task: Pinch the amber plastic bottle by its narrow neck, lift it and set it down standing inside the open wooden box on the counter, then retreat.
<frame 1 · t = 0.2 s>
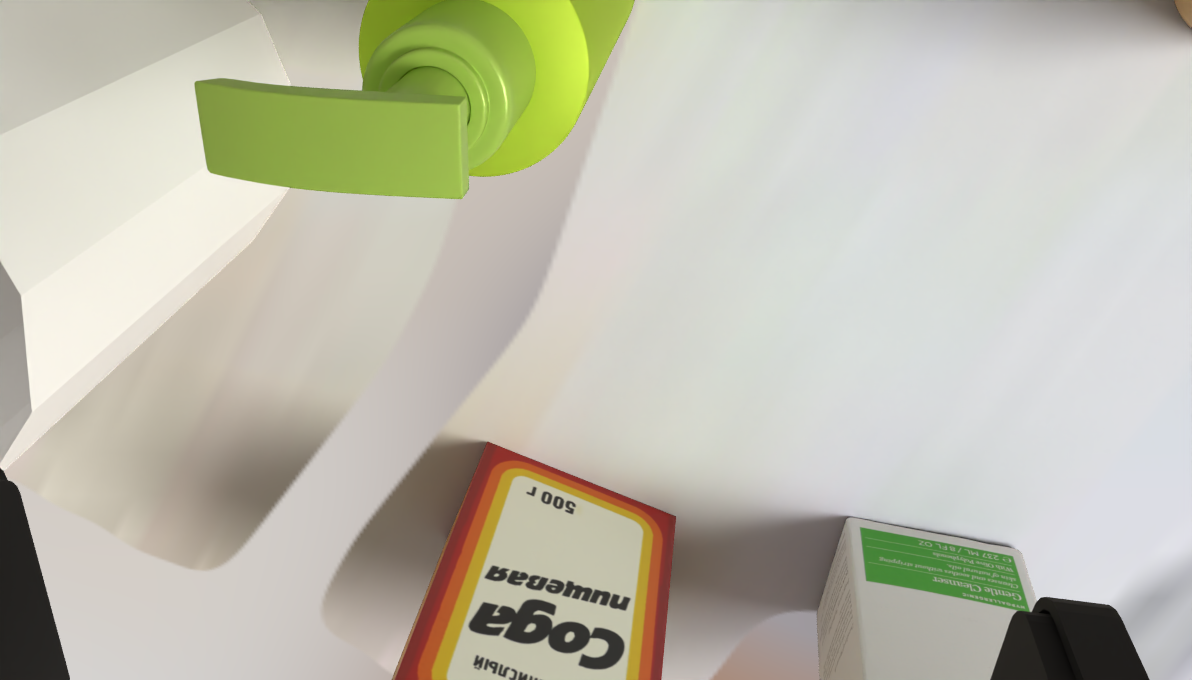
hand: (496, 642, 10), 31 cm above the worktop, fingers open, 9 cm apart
skincare box: (909, 580, 48), on the worktop
baking soda box: (558, 526, 49), on the worktop
container: (132, 101, 42), on the worktop
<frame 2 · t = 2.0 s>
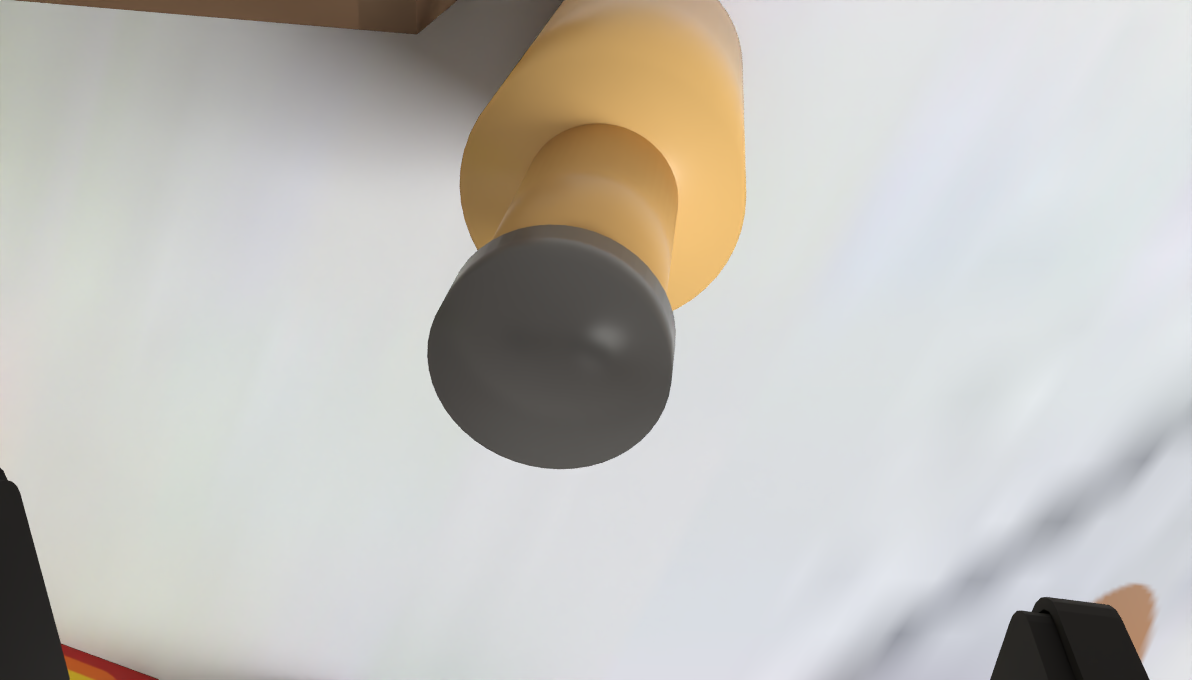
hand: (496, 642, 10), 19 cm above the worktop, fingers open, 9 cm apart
amber bottle: (640, 70, 26), on the worktop
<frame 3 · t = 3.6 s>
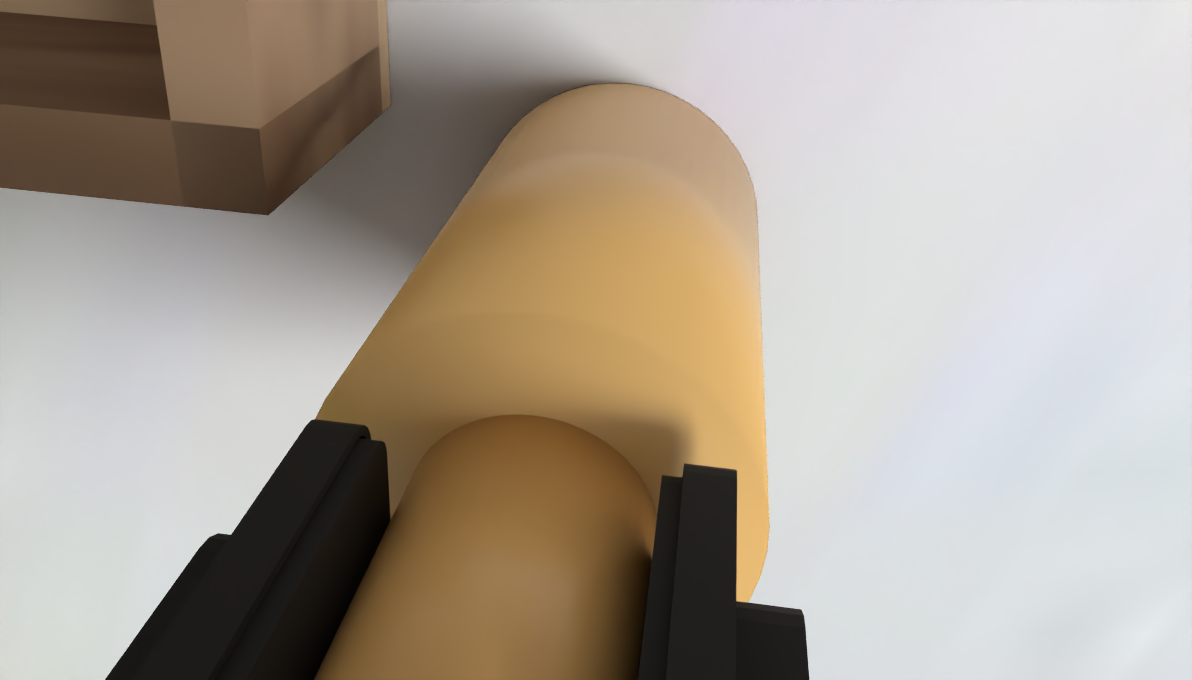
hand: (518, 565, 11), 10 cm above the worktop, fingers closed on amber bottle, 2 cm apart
amber bottle: (617, 221, 19), on the worktop, touching gripper
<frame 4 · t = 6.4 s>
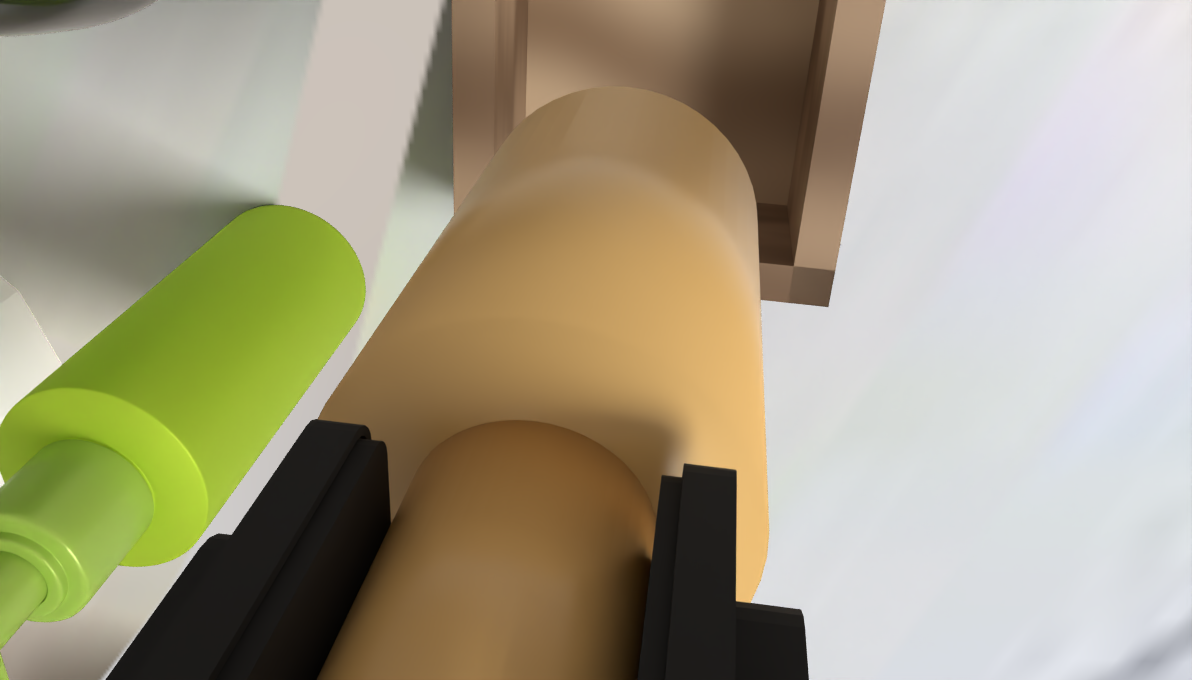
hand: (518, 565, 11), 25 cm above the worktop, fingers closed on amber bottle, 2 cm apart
amber bottle: (617, 224, 19), point 16 cm above the worktop, touching gripper
open wooden box: (668, 40, 33), on the worktop
soap dispenser: (279, 273, 39), on the worktop
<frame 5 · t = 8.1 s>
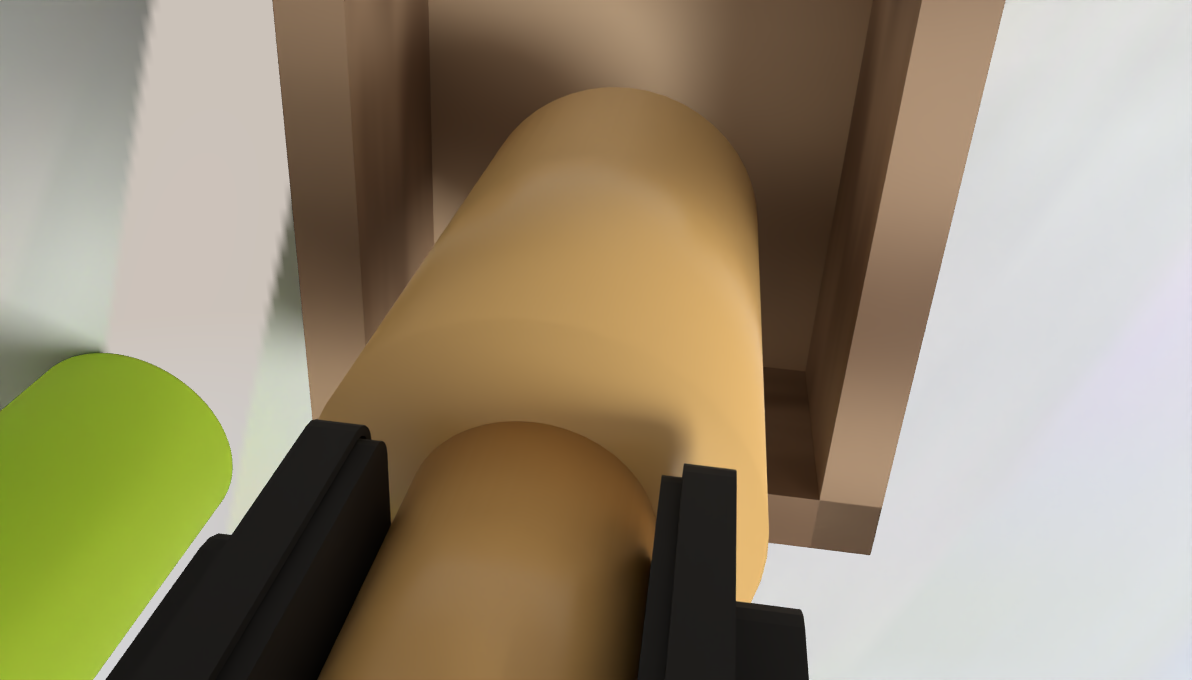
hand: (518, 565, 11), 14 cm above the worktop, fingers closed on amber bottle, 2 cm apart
amber bottle: (617, 225, 19), point 4 cm above the worktop, touching gripper
open wooden box: (635, 144, 23), on the worktop
soap dispenser: (118, 437, 29), on the worktop
when the fingers open (11 cm above the worktop, at t = 9.5 s): amber bottle stays where it is, resting on open wooden box.
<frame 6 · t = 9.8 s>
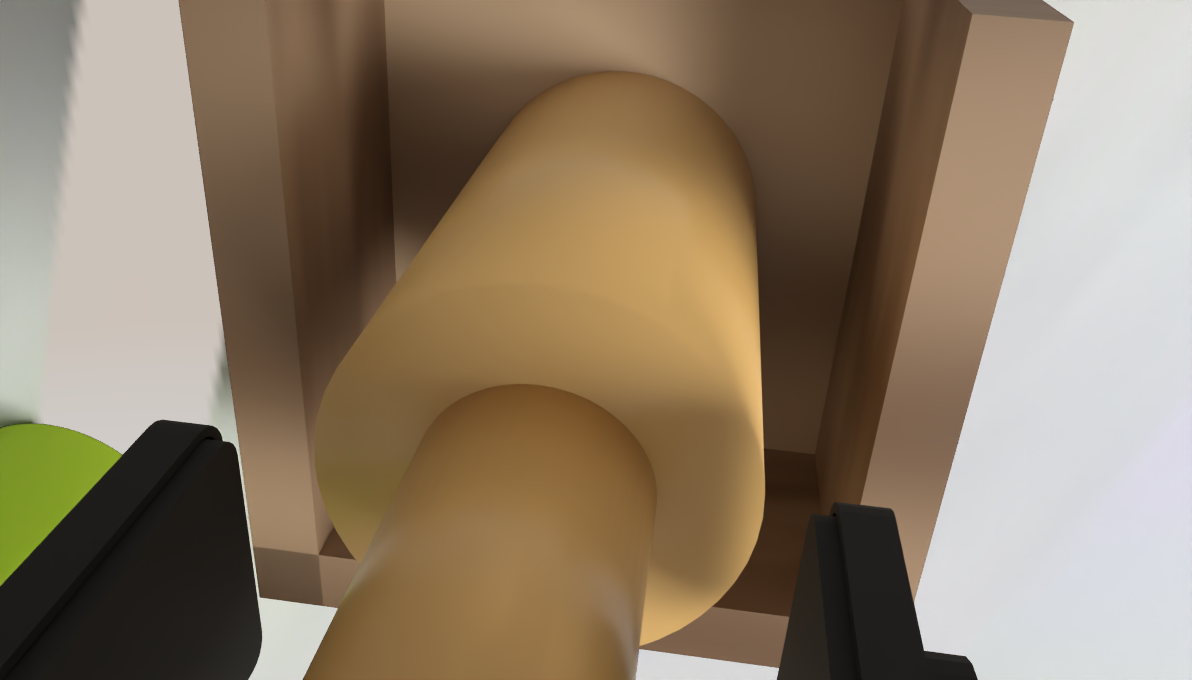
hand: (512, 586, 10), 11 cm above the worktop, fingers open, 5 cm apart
amber bottle: (618, 207, 19), resting on open wooden box
open wooden box: (623, 203, 20), on the worktop
soap dispenser: (56, 512, 26), on the worktop
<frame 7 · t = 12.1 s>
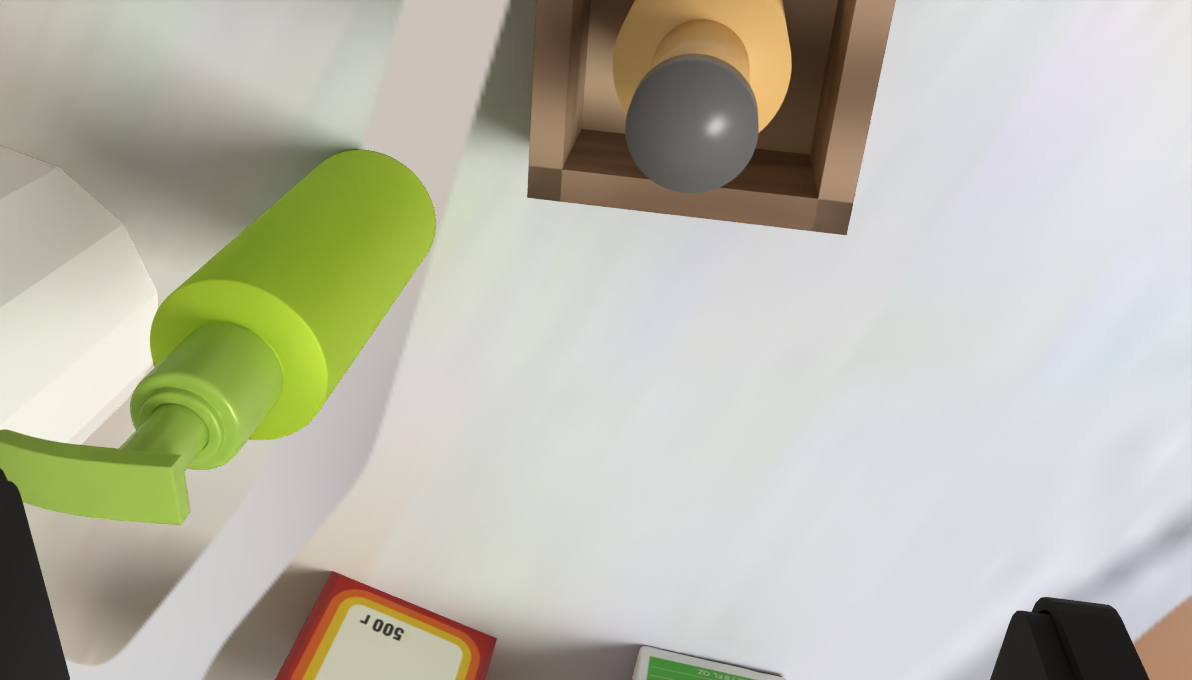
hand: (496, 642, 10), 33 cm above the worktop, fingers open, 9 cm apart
amber bottle: (710, 7, 37), point 1 cm above the worktop, touching open wooden box
open wooden box: (711, 8, 38), on the worktop
baking soda box: (398, 641, 56), on the worktop
soap dispenser: (359, 212, 44), on the worktop
container: (19, 286, 48), on the worktop
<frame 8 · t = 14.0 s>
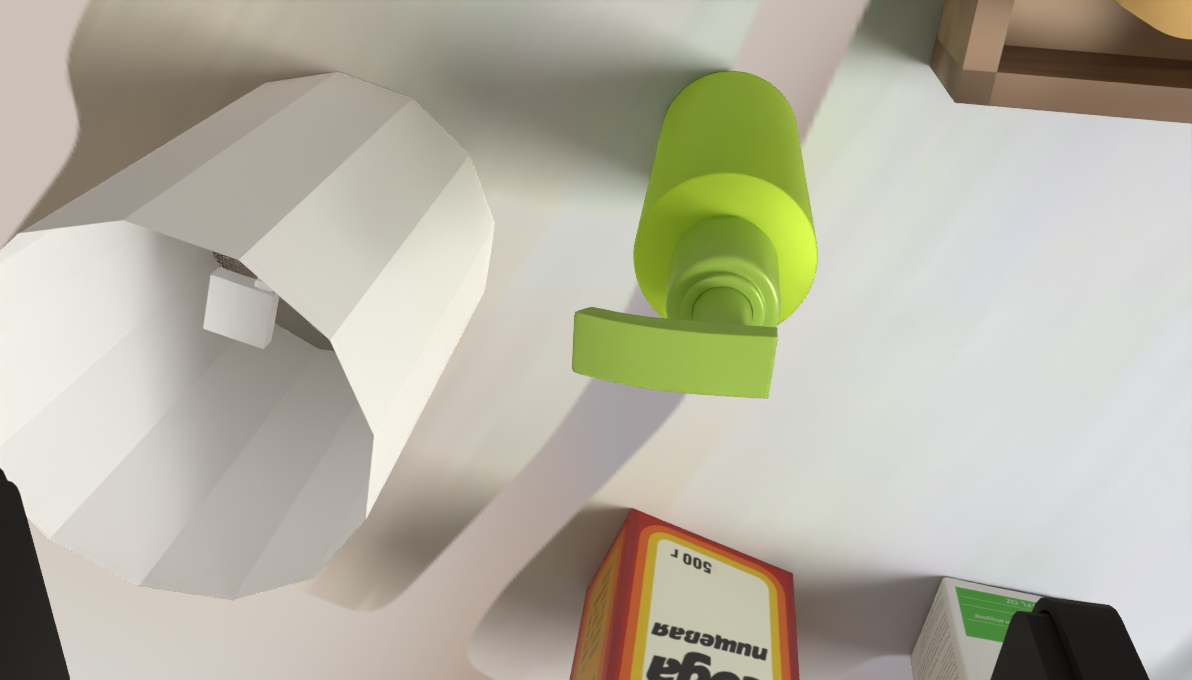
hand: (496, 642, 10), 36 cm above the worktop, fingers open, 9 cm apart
skincare box: (993, 630, 55), on the worktop
baking soda box: (687, 579, 56), on the worktop
soap dispenser: (716, 136, 44), on the worktop
container: (348, 222, 49), on the worktop
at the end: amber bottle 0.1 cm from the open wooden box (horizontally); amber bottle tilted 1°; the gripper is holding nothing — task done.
